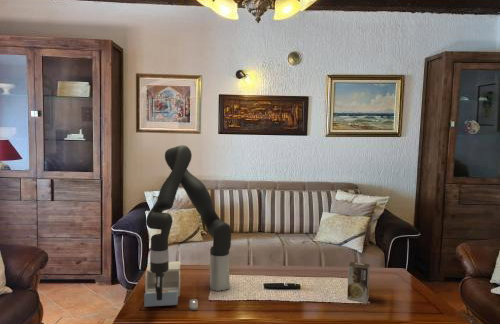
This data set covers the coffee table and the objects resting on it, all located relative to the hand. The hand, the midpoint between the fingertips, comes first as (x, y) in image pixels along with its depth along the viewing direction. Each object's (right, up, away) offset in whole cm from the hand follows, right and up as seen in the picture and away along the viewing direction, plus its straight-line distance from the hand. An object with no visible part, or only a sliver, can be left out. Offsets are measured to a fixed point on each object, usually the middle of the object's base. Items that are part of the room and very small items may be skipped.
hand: (159, 299), depth 164 cm
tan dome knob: (-2, -3, +11) cm, 12 cm away
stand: (+14, -6, +5) cm, 16 cm away
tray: (-2, -4, +12) cm, 12 cm away
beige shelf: (-3, -4, +24) cm, 24 cm away
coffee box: (+89, -6, +17) cm, 91 cm away
